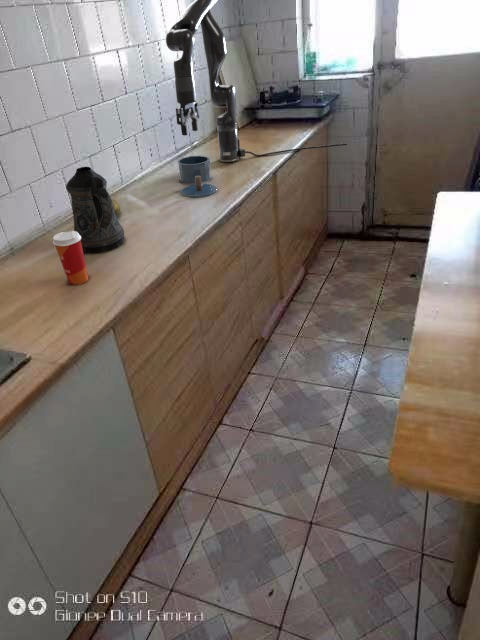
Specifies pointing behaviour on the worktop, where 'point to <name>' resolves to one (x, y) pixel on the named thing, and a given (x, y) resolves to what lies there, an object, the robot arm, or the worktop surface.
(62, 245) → the paper cup
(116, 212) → the potato
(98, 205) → the beer stein
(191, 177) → the pot
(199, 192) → the lid
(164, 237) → the worktop surface
